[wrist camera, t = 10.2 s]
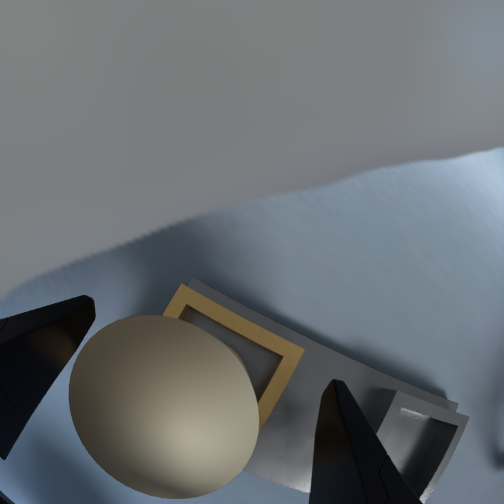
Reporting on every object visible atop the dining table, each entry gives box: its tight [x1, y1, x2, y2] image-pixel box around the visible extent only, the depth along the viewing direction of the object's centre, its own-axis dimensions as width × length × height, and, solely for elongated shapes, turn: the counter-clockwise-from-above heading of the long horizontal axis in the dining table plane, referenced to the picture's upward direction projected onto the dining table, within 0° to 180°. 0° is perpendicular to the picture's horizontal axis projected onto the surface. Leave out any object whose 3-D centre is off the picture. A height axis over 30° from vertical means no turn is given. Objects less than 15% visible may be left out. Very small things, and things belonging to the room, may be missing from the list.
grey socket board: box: [162, 277, 469, 504], centre depth 14 cm, size 21×9×3 cm, turn 62°
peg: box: [69, 315, 259, 499], centre depth 10 cm, size 4×4×11 cm
